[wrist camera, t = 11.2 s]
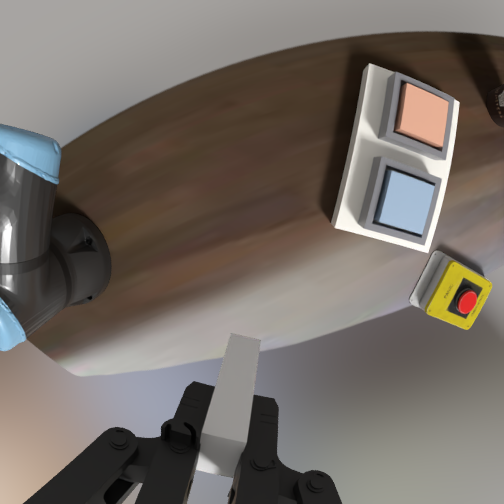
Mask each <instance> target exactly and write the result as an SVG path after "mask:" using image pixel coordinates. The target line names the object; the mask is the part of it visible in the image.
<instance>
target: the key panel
mask: <svg viewBox="0 0 504 504" xmlns="http://www.w3.org/2000/svg"><path fill="white" fill-rule="evenodd" d="M406 83H408V84H411V85H413V86H416V87H418V88H420V89H422V90H425V91H427V92H429V93H431V94H433V95H435V96H438V97H440V98H442V99H444V100H446V101H448V102H449V104H448V113H447V121H446V128H445V135H444V141H443V147H431V146H429V145H427V144H424V143H422V142H419V141H417V140H414V139H412V138H409V137H407V136H404V135H401V134H399V133H396V132H393V130H394V124H395V118H396V112H397V106H398V99H399V92H400V87H401V86H403V85H405V84H406ZM458 111H459V102H458V101H456V100H455V99H454V98H453V97H451V96H449V95H447V94H445V93H443V92H441V91H439V90H437V89H435V88H433V87H431V86H429V85H427V84H424V83H422V82H420V81H418V80H415V79H413V78H411V77H408V76H406V75H403V74H401V73H398V72H392V71H390V70H387V69H384V68H382V67H379V66H376V65H373V64H370V63H369V64H368V65H367V66H366V68H365V69H364V70H363V76H362V82H361V88H360V93H359V99H358V104H357V110H356V115H355V120H354V125H353V130H352V135H351V140H350V145H349V150H348V154H347V159H346V163H345V168H344V172H343V177H342V181H341V185H340V189H339V193H338V197H337V202H336V206H335V210H334V213H333V217H332V221H331V224H332V225H333V226H334V227H335V228H338V229H342V230H345V231H349V232H353V233H357V234H361V235H365V236H369V237H372V238H376V239H380V240H383V241H387V242H391V243H394V244H398V245H402V246H405V247H409V248H412V249H416V250H419V251H423V252H426V253H428V251H429V248H430V245H431V242H432V238H433V235H434V232H435V228H436V225H437V221H438V217H439V214H440V210H441V206H442V202H443V198H444V194H445V189H446V185H447V180H448V175H449V170H450V165H451V160H452V154H453V148H454V142H455V135H456V128H457V120H458ZM385 170H390V171H394V172H397V173H400V174H403V175H406V176H409V177H412V178H414V179H417V180H420V181H422V182H425V183H428V184H430V185H433V186H435V187H434V192H433V196H432V200H431V204H430V208H429V212H428V216H427V219H426V223H425V226H424V230H423V233H422V234H418V233H415V232H412V231H408V230H405V229H402V228H398V227H395V226H392V225H388V224H385V223H381V222H378V221H377V220H375V219H373V218H374V214H375V211H376V207H377V203H378V199H379V195H380V191H381V187H382V182H383V178H384V174H385Z"/></svg>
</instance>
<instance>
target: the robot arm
mask: <svg viewBox="0 0 504 504" xmlns="http://www.w3.org/2000/svg"><path fill="white" fill-rule="evenodd" d="M60 160H61V148H60V146H59V144H58V143H57V142H56V141H55V140H54V139H52V138H50V137H47V136H44V135H41V134H38V133H34V132H31V131H27V130H24V129H19V128H16V127H12V126H8V125H3V124H0V350H1V351H7V350H10V349H11V348H13V347H14V346H16V345H17V344H18V343H20V342H24V341H25V340H26V338H28V337H29V336H30V335H31V334H32V333H34V332H35V331H36V330H37V329H39V328H40V327H41V326H42V325H43V324H45V323H46V322H47V321H48V320H50V319H51V318H52V317H53V316H55V315H56V314H57V313H58V312H60V311H61V310H62V309H64V308H65V307H70V306H75V305H80V304H85V303H88V302H90V301H92V300H94V299H95V298H96V297H98V296H99V295H100V294H101V293H103V291H104V290H105V289H106V287H107V285H108V283H109V280H110V276H111V258H110V253H109V249H108V246H107V244H106V241H105V239H104V237H103V235H102V234H101V232H100V231H99V229H98V228H97V227H96V226H95V225H94V224H93V223H92V222H91V221H90V220H89V219H87V218H86V217H84V216H82V215H79V214H75V213H67V214H63V215H60V216H57V217H55V218H53V219H52V215H53V207H54V200H55V194H56V188H57V184H58V183H59V179H58V174H59V166H60ZM259 348H260V340H259V339H255V338H250V337H246V336H241V335H237V334H233V333H231V336H230V339H229V342H228V346H227V349H226V352H225V356H224V359H223V362H222V366H221V369H220V373H219V376H218V379H217V383H216V386H215V387H214V386H210V385H206V384H202V383H199V382H195V381H194V382H192V383H191V384H190V385H189V386H187V387H186V389H185V391H184V394H183V397H182V399H181V401H180V404H179V406H178V408H177V411H176V413H175V416H174V418H173V419H170V420H168V421H166V422H164V424H163V425H162V426H161V436H160V437H156V438H141V437H136V436H135V435H134V434H133V433H132V432H131V431H129V430H127V429H125V428H120V427H115V428H110V429H108V430H106V431H105V432H103V433H102V434H101V435H100V436H99V437H98V438H97V439H96V440H95V441H94V442H93V443H92V444H90V445H89V446H88V447H87V448H86V449H85V450H84V451H83V452H82V453H81V454H79V455H78V456H77V457H76V458H75V459H74V460H73V461H71V462H70V463H69V464H68V465H67V466H66V467H65V468H64V469H63V470H61V471H60V472H59V473H58V474H57V475H56V476H55V477H53V478H52V479H51V480H50V481H49V482H48V483H47V484H45V485H44V486H43V487H42V488H41V489H40V490H38V491H37V492H36V493H35V494H34V495H33V496H31V497H30V498H29V499H28V500H27V501H26V502H24V503H23V504H122V503H123V501H124V500H125V499H126V498H127V497H128V496H129V494H130V493H131V492H132V491H133V490H134V489H135V487H136V486H137V485H138V484H139V483H143V485H142V487H141V490H140V492H139V494H138V497H137V499H136V502H135V504H187V501H188V497H189V494H190V490H191V486H192V483H193V478H194V473H195V470H200V471H204V472H208V473H212V474H217V475H221V476H226V477H231V478H233V477H234V479H233V484H232V487H231V489H230V492H229V494H228V497H229V499H228V504H342V502H341V500H340V497H339V495H338V492H337V490H336V487H335V484H334V482H333V480H332V479H331V477H330V476H329V475H327V474H326V473H324V472H321V471H318V470H317V471H316V470H315V471H314V470H311V471H308V472H305V473H304V474H303V473H300V472H297V471H295V470H292V469H290V468H288V467H286V466H285V465H284V464H282V462H281V461H280V460H279V458H278V456H277V437H278V411H279V409H278V405H277V403H276V402H275V399H274V398H268V397H263V396H258V395H253V394H254V387H255V379H256V371H257V364H258V356H259Z"/></svg>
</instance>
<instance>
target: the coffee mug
mask: <svg viewBox="0 0 504 504" xmlns="http://www.w3.org/2000/svg"><path fill="white" fill-rule="evenodd" d="M487 108H488V112H489V114H490V116H491V118H492V119H493V121H494V122H495V123H496V124H497V125H499V126H501V127H504V84H503V85H501V86H499V87H497V88H495V89H494V90H492V91H490V92H489V93H488V95H487Z"/></svg>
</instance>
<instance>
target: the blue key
mask: <svg viewBox="0 0 504 504" xmlns="http://www.w3.org/2000/svg"><path fill="white" fill-rule="evenodd" d="M434 187H435V186H433V185H430V184H428V183H425V182H422V181H420V180H417V179H414V178H412V177H409V176H406V175H403V174H400V173H397V172H394V171H390V170H385V174H384V178H383V182H382V187H381V191H380V195H379V199H378V203H377V207H376V211H375V214H374V218H373V219H375V220H377V221H378V222H381V223H385V224H388V225H392V226H395V227H398V228H402V229H405V230H408V231H412V232H415V233H418V234H422V233H423V230H424V226H425V223H426V219H427V216H428V212H429V208H430V204H431V200H432V196H433V192H434Z"/></svg>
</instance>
